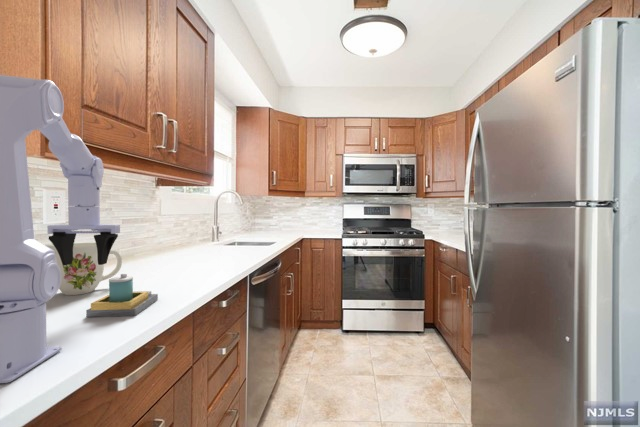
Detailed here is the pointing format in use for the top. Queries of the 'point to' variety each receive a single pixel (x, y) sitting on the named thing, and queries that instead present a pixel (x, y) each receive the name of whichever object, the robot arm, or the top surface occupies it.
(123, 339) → the top surface
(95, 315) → the gray yellow rectangular tray
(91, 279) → the pitcher
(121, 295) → the spout can
